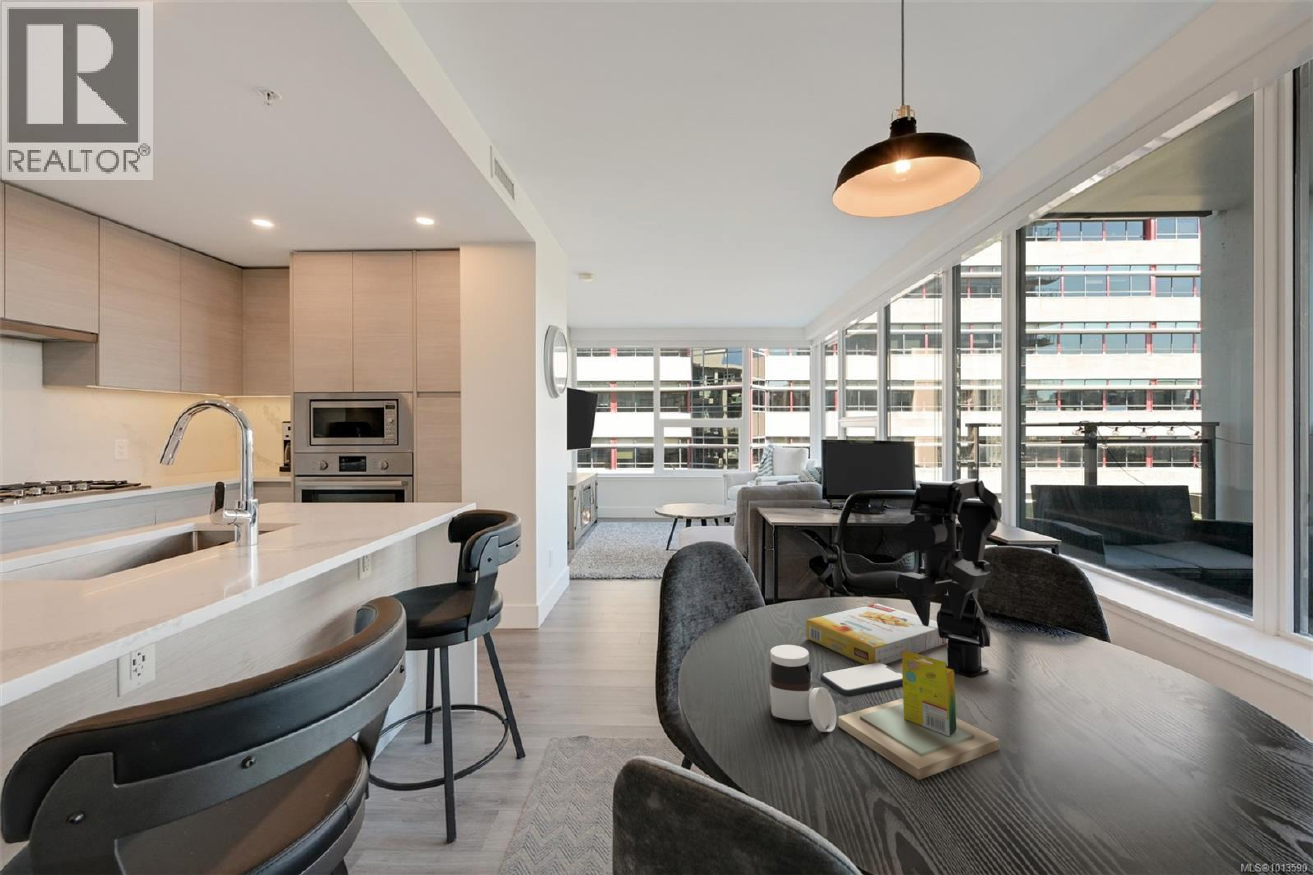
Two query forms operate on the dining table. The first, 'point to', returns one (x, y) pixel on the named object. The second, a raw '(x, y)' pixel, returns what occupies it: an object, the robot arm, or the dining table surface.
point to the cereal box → (873, 633)
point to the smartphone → (863, 678)
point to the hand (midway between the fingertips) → (941, 622)
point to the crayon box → (928, 693)
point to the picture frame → (916, 740)
